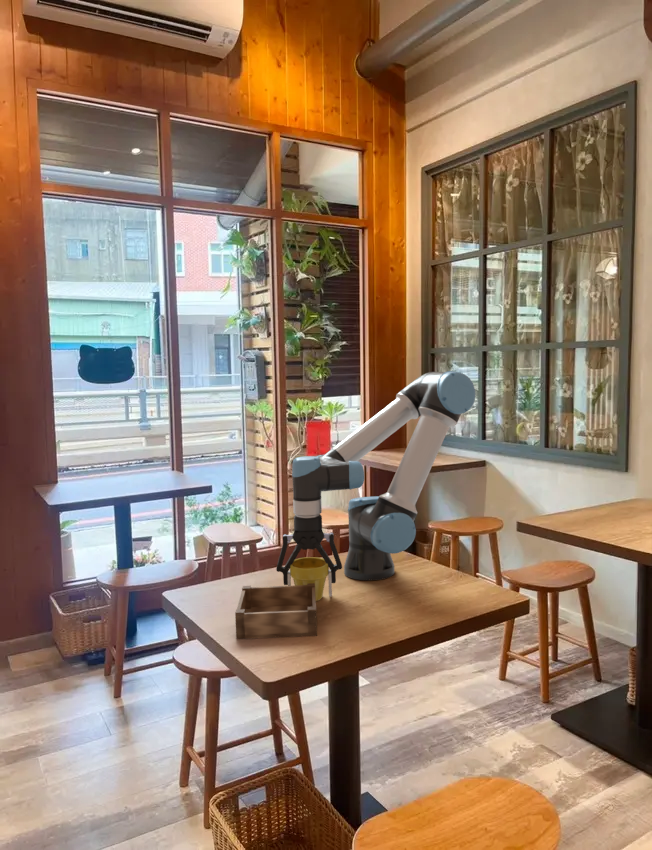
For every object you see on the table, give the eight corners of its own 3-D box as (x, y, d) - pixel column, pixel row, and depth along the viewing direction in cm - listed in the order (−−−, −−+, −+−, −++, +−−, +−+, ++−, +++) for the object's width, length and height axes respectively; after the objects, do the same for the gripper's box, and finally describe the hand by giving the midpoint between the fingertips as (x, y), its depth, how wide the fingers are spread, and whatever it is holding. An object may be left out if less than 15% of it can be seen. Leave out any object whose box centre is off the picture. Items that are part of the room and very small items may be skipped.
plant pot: (325, 605, 168) (323, 568, 167) (286, 603, 170) (285, 567, 169) (332, 592, 178) (331, 557, 177) (296, 590, 180) (295, 556, 179)
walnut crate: (315, 606, 168) (314, 583, 167) (317, 635, 149) (316, 609, 148) (243, 609, 167) (242, 586, 166) (236, 638, 148) (235, 612, 148)
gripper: (349, 510, 176) (351, 589, 178) (265, 513, 176) (268, 592, 177) (351, 516, 169) (353, 598, 171) (264, 519, 168) (267, 601, 170)
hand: (310, 595), depth 174 cm, fingers closed on plant pot, 10 cm apart
